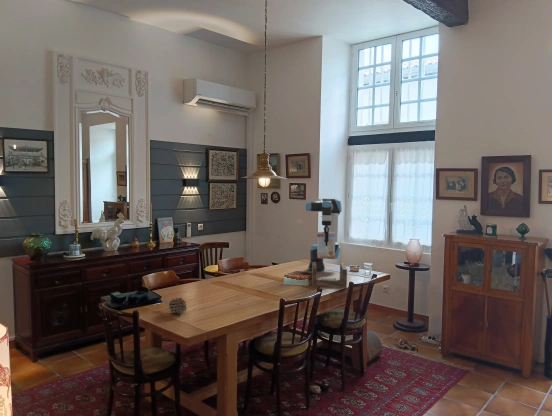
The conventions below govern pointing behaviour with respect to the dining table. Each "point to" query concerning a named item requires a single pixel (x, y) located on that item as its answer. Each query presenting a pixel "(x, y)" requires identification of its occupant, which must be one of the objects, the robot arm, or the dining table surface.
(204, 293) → the dining table surface
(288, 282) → the sage mat
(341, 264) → the walnut rack
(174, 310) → the pine cone
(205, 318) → the dining table surface
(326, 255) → the cracker box
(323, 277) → the upper offcut
